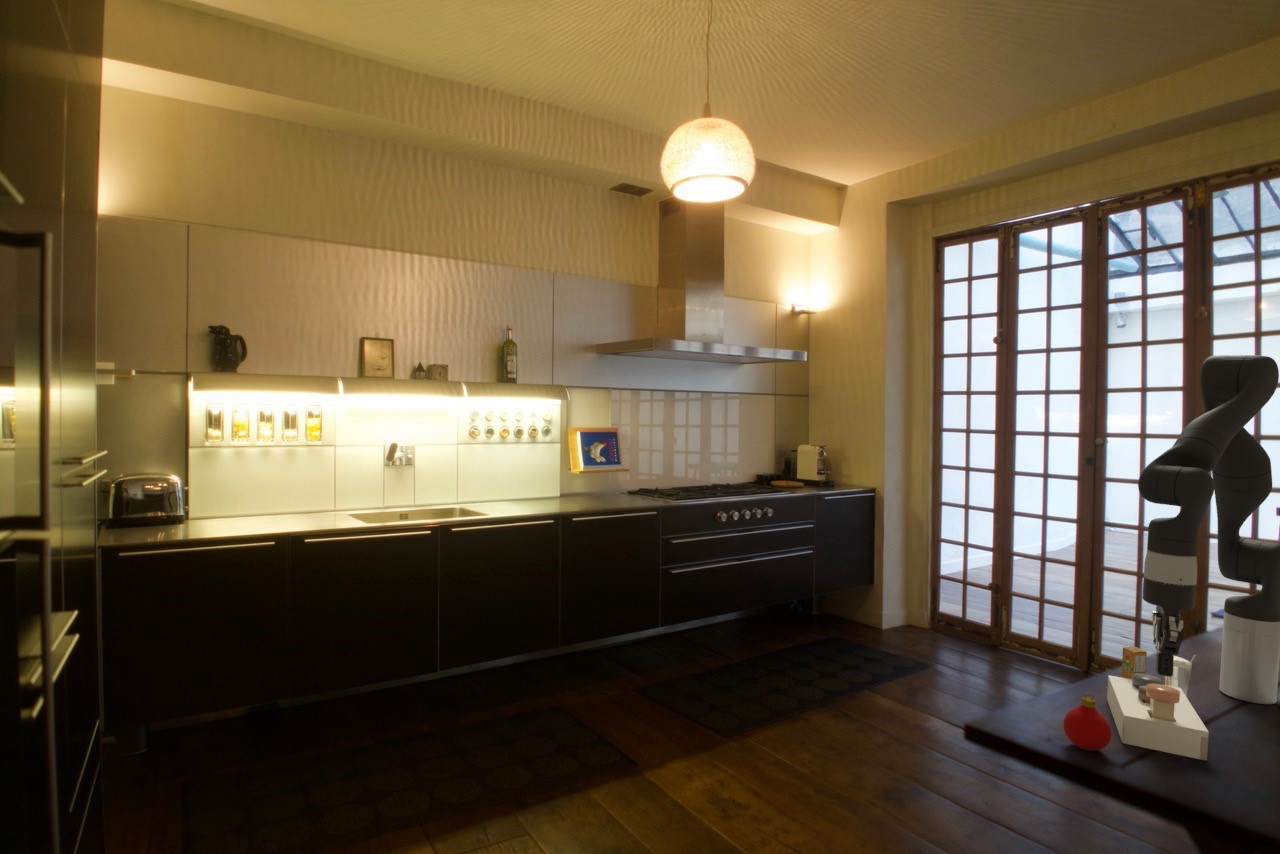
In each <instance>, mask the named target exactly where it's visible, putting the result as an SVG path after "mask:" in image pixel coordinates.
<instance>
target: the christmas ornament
mask: <svg viewBox="0 0 1280 854" xmlns="http://www.w3.org/2000/svg"><path fill="white" fill-rule="evenodd" d="M1089 693H1090V694H1091V695H1092V697H1086V695H1088V694H1089ZM1096 703H1097V701H1096V700H1095V699H1094V694H1093V692H1090V691H1087V692H1085V693H1084V696H1083V697H1081V704H1080V705H1079V706H1077V707H1074V708H1071V709H1070V710H1069V711H1068V712H1067V713H1066V714H1065V716H1064V719H1063V730H1064V732H1065V735H1066V737H1067V738H1068V739H1069V741H1070V742H1071V743H1072V744H1073V745H1075V746H1076V747H1077V748H1079V749H1082V750H1084V751H1090V752H1095V751H1096V752H1097V751H1101V750H1103V749H1104V748H1106V747H1107V746H1108V745H1109V743H1110V742H1111V739H1112V728H1111V726H1110V723H1109V721H1108V720H1107V718H1106V717H1105V715H1103V714H1102V713H1101V712H1100V711H1099V710H1097V709H1096V708H1097V707H1096Z"/></svg>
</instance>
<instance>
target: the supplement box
mask: <svg viewBox="0 0 1280 854" xmlns="http://www.w3.org/2000/svg"><path fill="white" fill-rule="evenodd" d="M1147 655H1148V652H1147V651H1146V650H1143V649H1141V648H1139V647H1138V646H1123V647H1122V660H1121V677H1122V678H1127V679H1132V675H1133V674H1134V673H1142V674H1147Z"/></svg>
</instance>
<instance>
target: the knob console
mask: <svg viewBox="0 0 1280 854" xmlns="http://www.w3.org/2000/svg"><path fill="white" fill-rule="evenodd" d="M1166 686H1167V685H1166ZM1169 687H1172V688H1175V689H1177V690H1178V691H1179V692H1180V700H1179V703H1175V706H1174V722H1171V721H1166V720H1161V719H1156V718H1151V717H1150V716H1149V714H1150V703H1145V702H1143V701H1142V699H1140V698H1139V697H1138V690H1139V689H1137V688H1136V686H1135V685H1133V684H1132V679H1127V678H1122V676H1116V675H1109V674H1108V675H1107V690H1106V692H1107V693H1106V700H1107V704H1108V707H1109V709H1110V711H1111V715H1112V717H1113V721H1114V724H1115V726H1116V729H1117V732H1118V735H1119V737H1120V740H1121V743H1122V744H1125V745H1129V746H1130V745H1131V746H1135V747H1139V748H1145V749H1149V750H1153V751H1154V750H1155V751H1159V752H1164V753H1168V754H1173V755H1177V756H1183V757H1187V758H1191V759H1197V760H1200V761H1201V760H1202V761H1206V762H1207V761H1208V749H1209V747H1208V746H1209V733H1210V732H1209V730H1208V729H1207V727H1206V726H1205V724H1204V722H1203V721H1202V719H1201V717H1200V716H1199V714H1198V713H1197V711H1196V710H1195V708H1194V707H1193V705H1192V704H1191V701H1190V700H1189V699H1188V697H1187V696H1185V694H1184V693H1183V691H1182V689H1181V688H1179V687H1173V686H1169Z"/></svg>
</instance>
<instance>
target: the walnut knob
mask: <svg viewBox="0 0 1280 854" xmlns="http://www.w3.org/2000/svg"><path fill="white" fill-rule="evenodd" d="M1138 697H1139V698H1140V699H1142V701H1143V702H1145V703H1150V697H1148V696H1147V695H1146V686H1140V687H1139V690H1138Z"/></svg>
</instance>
